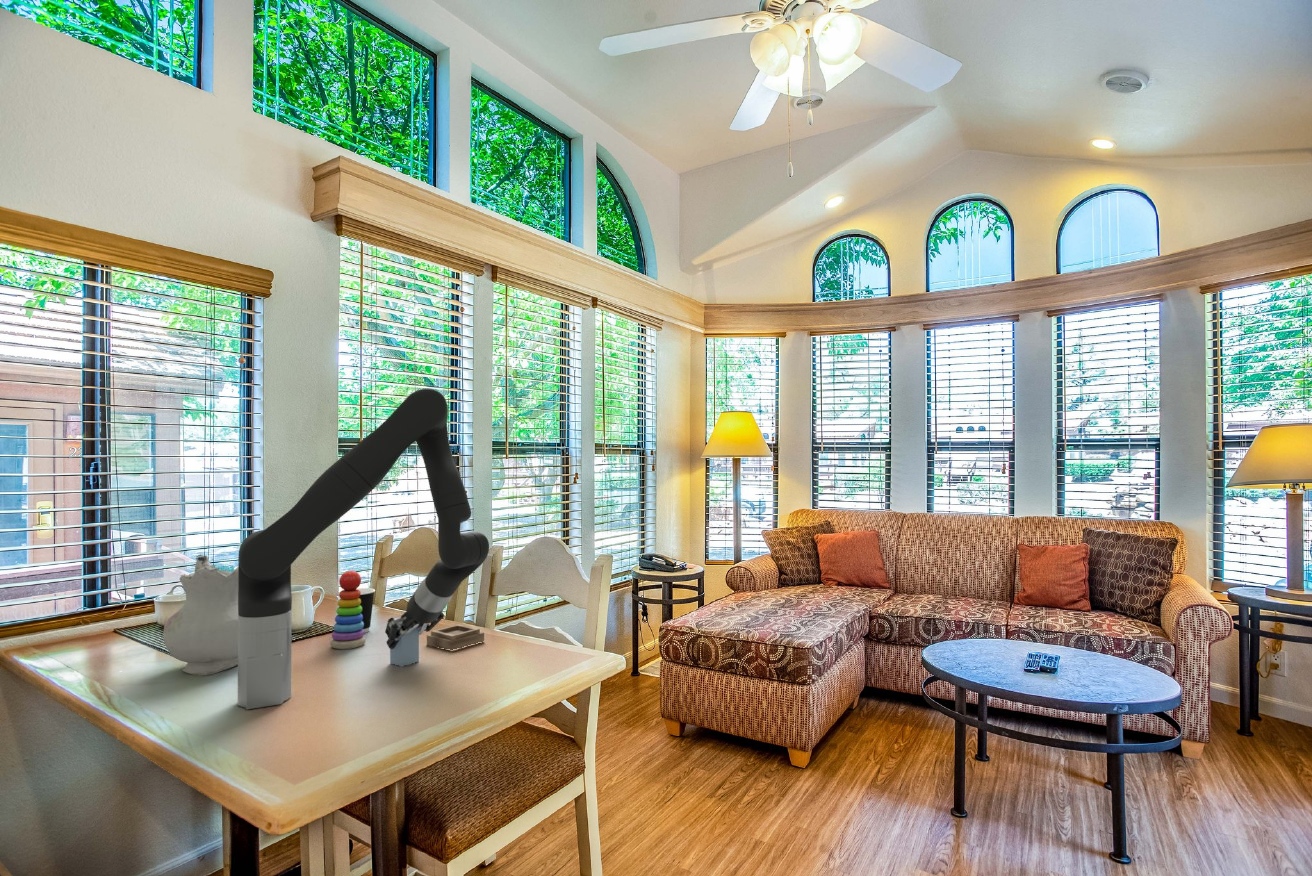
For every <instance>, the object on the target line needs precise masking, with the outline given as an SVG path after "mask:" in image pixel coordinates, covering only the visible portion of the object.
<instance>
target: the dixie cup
mask: <svg viewBox="0 0 1312 876" xmlns="http://www.w3.org/2000/svg"><path fill="white" fill-rule="evenodd" d="M357 590H359V591H360V592H361V595H360V596H359V597H358V598H359V599H360V600H361V604H360V606H361V607H362V612H361V614H362V615H363V619H362V621H363V623H364V627H363V628H362V629H363V630H364V634H365V633H368V632H369V631H370V627H371V622H372V615H373V607H374V606H373V604H374V597H375V592H376V589H375V588H370V587H358V588H357Z"/></svg>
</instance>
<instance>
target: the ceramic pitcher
mask: <svg viewBox="0 0 1312 876" xmlns="http://www.w3.org/2000/svg"><path fill="white" fill-rule="evenodd" d="M195 559H196V562H195V564H194V565H195V566H194V572H192V573H189V574H188V575H187V574H181V575H180V577H179V581H180V583H181V586H182V587H183V590H184V592H185V601H184V604H183V606H182V607H181V608H179V610H177V611H176V612H175V613H173V614H172V615H170V617H169V618H168V619H167V620H166V621H165V623H164V627H163V637H162V639H163V644H164V645H165V647H166V650H167V652H169V654H170V656H172V657H173V658H175V659H176V660H178V661H180V662H185V663H187V664H186V665H185V667H184V668H182V669H181V671H183V672H185V673H187V674H190V675H195V676H209V675H215V674H217V673H221V672H222V671H225V670H228V669H231V668H233V667H238V666H237V665H238V566H237V567H236V568H235V569H234V570H233V571H229V570H223V569H220V567H216V566H217V565H216V564H212V565H211V563H210V560H209V557H208V556H207V555H205V554H204V555H202V554H198V555H196V558H195ZM205 674H206V675H205Z"/></svg>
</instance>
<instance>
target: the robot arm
mask: <svg viewBox="0 0 1312 876" xmlns="http://www.w3.org/2000/svg"><path fill="white" fill-rule="evenodd" d="M448 417H449V408H448V403H447V399H446V398H445V396H444V395H443V393H442V392H440V391H439V390H437V389H434V388H430V387H429V388H428V387H427V388H420V389H417V390H414V391H413V392H412V393H410V394H409V395H408V396H407V397H406V398H405V399H404V400H403V401H402V402H401V403H400V404H399V406H398V407H396V409H395V410H394V411H393V412H392V413H391V414H390V415H389V416H388V417H387V418H386V419H385V420H384V421H383V422H382V423H381V425H379V426H378V427H377V428H376V429H374V430H373V431H372V432H370V434H368V435H367V436H366V437H363V439H361V440H360V441H359V442H358V443H357V444H355V445H354V446H353V447H351V449H349V451H347V452H346V453H345V454H343V455H342V456H341V457H340V458H338V459H337V460H336V461H334V463H333V464H332V465H331V466H329V467H328V468H327V469H326V470H324V472H323V473H322V474H321V475H320V476H319V477H318V478H317V479H316V480H315V481H314V482H313V483H312V484H311V486H310V487H309V488H308V489H307V490H306V491H305V493H304V494H302V496H301V498H299V500H298V501H297V503H295V504H294V506H292V508H290V509H289V510H288V511H287V512H286V513H285V514H284V515H282V516H281V517H280V518H278V519H277V520H276V521H275V522H273V523H272V524H271V525H269V526H267V527H266V528H264V529H260V530H257V531H254V532H253V533H250V534H249V535H248V536H247V537H246V538H245V539H244V540H243V541H242V542H241V544H240V546H239V549H238V558H237V559H238V565H237V567H238V666H237V706H239V707H241V708H244V709H245V710H251V709H258V708H264V707H271V706H277V705H282V704H284V702H286V701H287V700H289V699H290V698H291V696H292V616H293V615H292V612H293V611H292V610H293V609H292V608H293V606H292V605H293V602H292V601H293V599H292V597H293V596H292V578H291V577H292V564H293V563H294V562H295V561H296V560H297V559H298V557H299V556H300V555H301V554H302V553H303V552H304V551H305V550H306V549H307V547H308V546H309V545H311V544H312V542H313V541H314V540H315V539H316V538H317V537H318V536H319V535H320V534H321V533H322V532H324V531H325V530H326V529H327V528H329V527H331V525H333V524H334V523H336V522H337V521H338V520H339V519H341V518H342V517H343V516H345V515H346V514H348V512H349V511H350V510H352V508H354V507H355V506H356V505H358V504H359V503H360V502H361V501H362V500H364V498H365V497H367V496H368V495H369V494H370V493H371V492H372V491H373V490H375V488H376V487H377V486H378V485H379V484H380V483H381V482H382V480H384V478H386V476H387V474H388V473H389V472H390V471H391V469H392V468H393V467H394V465H395V463H396V462H397V461H398V460H399V458H400V457H401V456H402V455H403V453H404V452H405V451H406V450H407V449H408V448H409V447H410V446H411V445H412V444H414V443H415V442H416V445H417V446H418V450H419V452H420V454H421V457H422V460H423V464H424V466H425V467H424V468H425V471H426V474H427V475H426V476H427V480H428V485H429V490H430V494H431V497H432V498H431V499H432V501H433V505H434V508H435V513H436V516H437V520H438V522H437V525H438V527H437V529H438V531H437V532H438V537H437V538H438V543H437V547H438V548H437V549H438V554H439V555H438V556H439V559H440V560H438V561H437V562H436V563H435V564H434V565H433V566H432V568H431V569H430V571H429V572H428V574H427V575H426V577H425V578H424V579H423V580H422V581H420V583H419V585H418V586H417V587H416V590H415V591H414V592H413V594H412V595H411V597H410V598H409V600H408V602H407V603H406V610H405V612H404V613H403V614H402V615H401V616H400V617H398V618H399V619H397V620H394V619H395V618H394V617H390V618H389V619H388V620H387V623H386V627H385V630H384V631H385V632H384V633H385V634H386V637H387V638H388V639H387V640H386V645H387V647H388V649H389V650H390V649H394V647H395V646H396V645H397V643H398V642H399V640H400V639H401V638H402V637H403V636H404V635H408V634H409V633H410V632H411V631H412V630H413V629H414V628H418V629H419V630H418V632H419V636H421V635H423V634H424V632H431V631H432V629H433V628H434V627H436V625H438V624H439V622H441V620H442V619H443V618H445V615H444V613H443V611H444V610H445V608H446V607H447V605H448V604H449V603H450V601H451V600H452V598H453V596H454V594H455V592H456V591H457V590H458V588H459V587H460V585H461V583H462V582H463V581H465V580H466V579H467V578H468V577H470V576H471V575H472V573H474V572H475V571H476V570H477V569H478V568H480V566H481V565H482V564H483V563H484V562H485V561H486V559H487V557H488V554H489V551H490V542H489V540H488V538H487V536H486V535H485V534H484V533H482V532H480V531H468V532H463V533H461V524H463V523H465V522H466V521H468V520H469V519H470V518H471V517H472V510H471V506H470V502H469V498H468V495H467V492H466V489H465V486H464V485H465V484H464V482H463V479H462V477H461V474H460V472H459V470H458V467H457V464H456V462H455V459H454V457H453V454H452V450H451V446H450V442H449V433H448V432H449V431H448V423H447V422H448V419H449V418H448ZM402 623H403V625H402ZM398 630H400V634H399V633H398Z"/></svg>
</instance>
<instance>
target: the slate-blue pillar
mask: <svg viewBox="0 0 1312 876" xmlns="http://www.w3.org/2000/svg"><path fill="white" fill-rule="evenodd" d="M399 618H400V617H396V618H394V620H397V619H399ZM402 625H403V623H402ZM418 630H419V629H418V628H414V629H413V630H412V631H411V632H410V633H409V634H408V635H404V636H403V637H402V638H401V639H400V640H399V642H398V643H397V645H396V646H395V647H394V649H390V648H389V660H390V661H389V663H390V664H392V665H394V664H395V666H398V665H399V666H398V667H401V668H403V667H405V666H404V665H406V666H409V665H413V664H416V663H415V662H417V663H419V662H420V635H419V632H418ZM398 633H399V634H400V630H398ZM412 663H413V664H412Z"/></svg>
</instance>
